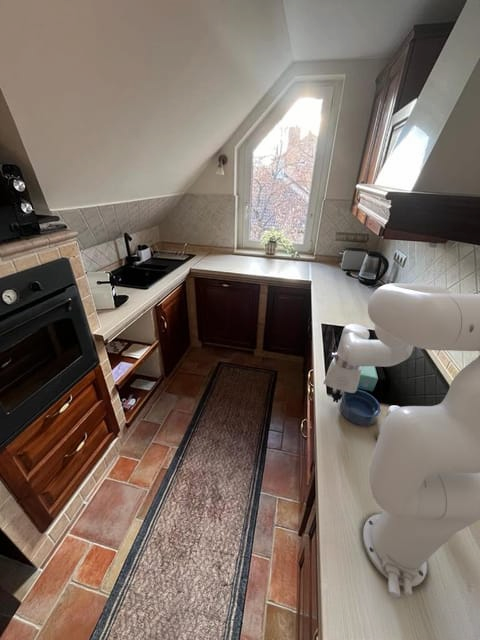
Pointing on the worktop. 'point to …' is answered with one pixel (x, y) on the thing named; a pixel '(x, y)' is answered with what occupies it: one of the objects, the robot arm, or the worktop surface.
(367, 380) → the box
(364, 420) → the bowl
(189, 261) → the worktop surface
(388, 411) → the sprinkles bottle
